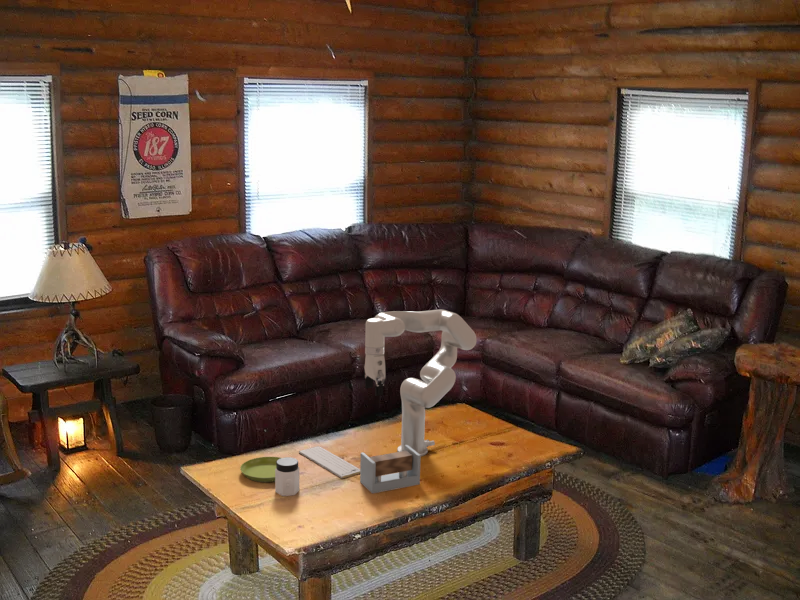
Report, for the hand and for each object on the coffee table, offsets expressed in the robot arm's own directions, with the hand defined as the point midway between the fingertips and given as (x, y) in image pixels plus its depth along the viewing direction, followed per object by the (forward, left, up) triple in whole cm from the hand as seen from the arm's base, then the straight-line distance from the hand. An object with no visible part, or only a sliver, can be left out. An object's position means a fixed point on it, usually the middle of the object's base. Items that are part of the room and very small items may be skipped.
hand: (374, 391), depth 362 cm
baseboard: (+15, -7, -31) cm, 35 cm away
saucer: (+42, -7, -31) cm, 53 cm away
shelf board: (+2, +20, -25) cm, 32 cm away
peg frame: (+2, +20, -30) cm, 36 cm away
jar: (+40, +11, -31) cm, 52 cm away
